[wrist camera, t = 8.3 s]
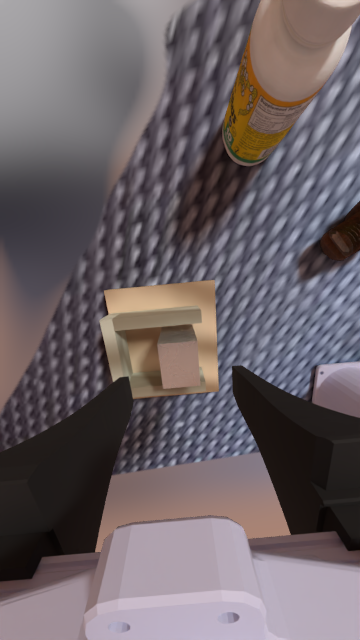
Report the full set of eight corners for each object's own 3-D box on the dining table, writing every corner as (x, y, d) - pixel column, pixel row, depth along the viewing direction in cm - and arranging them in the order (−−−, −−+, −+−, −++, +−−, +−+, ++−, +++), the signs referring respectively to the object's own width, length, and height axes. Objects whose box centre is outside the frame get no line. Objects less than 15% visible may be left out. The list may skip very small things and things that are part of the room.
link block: (194, 359, 21) (200, 385, 16) (166, 362, 21) (163, 388, 16) (192, 324, 19) (197, 340, 15) (162, 327, 20) (157, 344, 15)
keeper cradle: (216, 386, 23) (225, 408, 19) (128, 394, 23) (118, 418, 19) (212, 279, 19) (221, 281, 15) (107, 289, 19) (90, 293, 15)
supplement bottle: (266, 174, 17) (377, 50, 7) (214, 160, 16) (262, 9, 7) (286, 106, 15) (451, -149, 6) (230, 88, 15) (315, -211, 6)
